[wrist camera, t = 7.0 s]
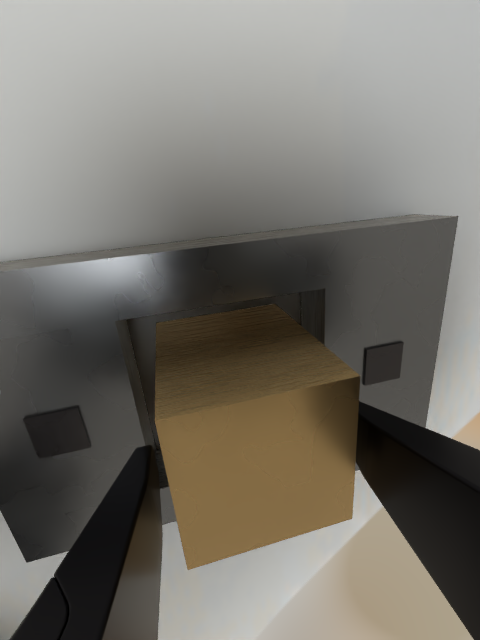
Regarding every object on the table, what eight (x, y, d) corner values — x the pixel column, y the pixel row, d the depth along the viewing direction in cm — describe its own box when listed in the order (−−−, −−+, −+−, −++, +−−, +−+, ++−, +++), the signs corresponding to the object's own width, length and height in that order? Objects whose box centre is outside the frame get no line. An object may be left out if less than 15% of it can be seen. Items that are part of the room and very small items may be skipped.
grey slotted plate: (391, 423, 16) (423, 453, 14) (45, 511, 13) (25, 565, 11) (413, 214, 12) (460, 216, 10) (-60, 269, 9) (-116, 286, 7)
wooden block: (277, 397, 14) (352, 518, 9) (175, 419, 13) (187, 569, 8) (272, 301, 13) (360, 376, 7) (156, 319, 12) (154, 420, 6)
